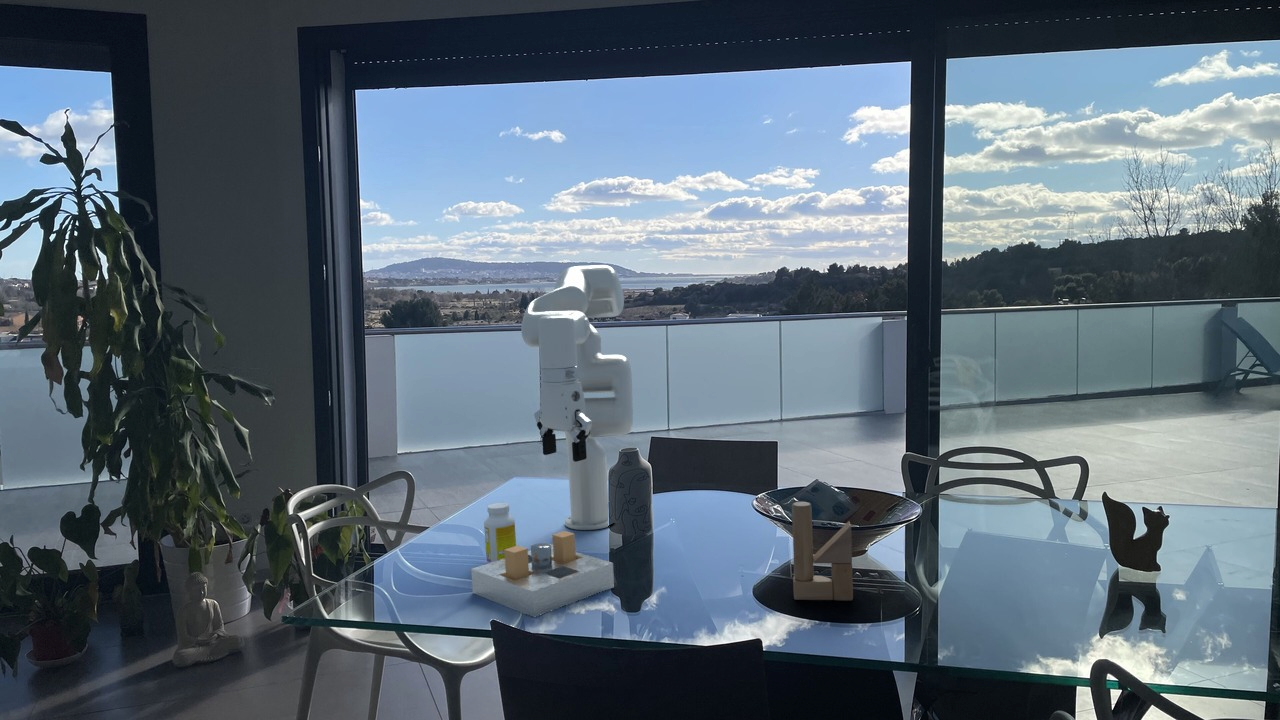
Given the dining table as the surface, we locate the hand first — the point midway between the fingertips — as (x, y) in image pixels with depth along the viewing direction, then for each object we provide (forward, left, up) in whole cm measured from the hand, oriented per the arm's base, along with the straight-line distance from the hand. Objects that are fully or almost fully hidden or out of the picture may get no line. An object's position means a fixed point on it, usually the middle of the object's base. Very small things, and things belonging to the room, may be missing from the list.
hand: (564, 456), depth 185 cm
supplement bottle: (+5, -18, -25) cm, 31 cm away
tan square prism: (+4, +3, -25) cm, 25 cm away
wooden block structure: (-21, +48, -25) cm, 58 cm away
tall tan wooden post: (+16, +3, -25) cm, 30 cm away
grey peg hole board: (+10, +3, -25) cm, 27 cm away
